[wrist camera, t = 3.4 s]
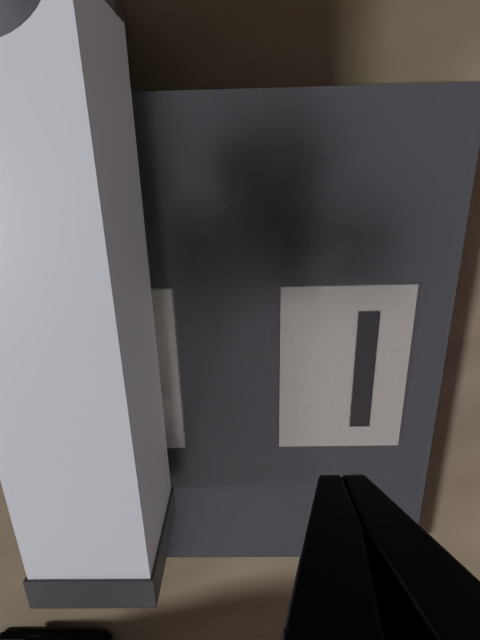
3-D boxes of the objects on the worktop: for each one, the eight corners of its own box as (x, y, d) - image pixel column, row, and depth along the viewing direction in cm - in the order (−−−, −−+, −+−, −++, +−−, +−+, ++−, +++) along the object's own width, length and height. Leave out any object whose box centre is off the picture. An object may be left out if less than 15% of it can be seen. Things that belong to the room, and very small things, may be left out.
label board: (404, 535, 21) (421, 574, 19) (90, 537, 22) (73, 576, 20) (489, -39, 13) (534, -77, 11) (-19, -22, 13) (-66, -55, 11)
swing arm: (-41, -75, 11) (-197, -205, 7) (118, -80, 11) (47, -216, 7) (77, 510, 18) (30, 608, 14) (175, 509, 18) (156, 607, 14)
